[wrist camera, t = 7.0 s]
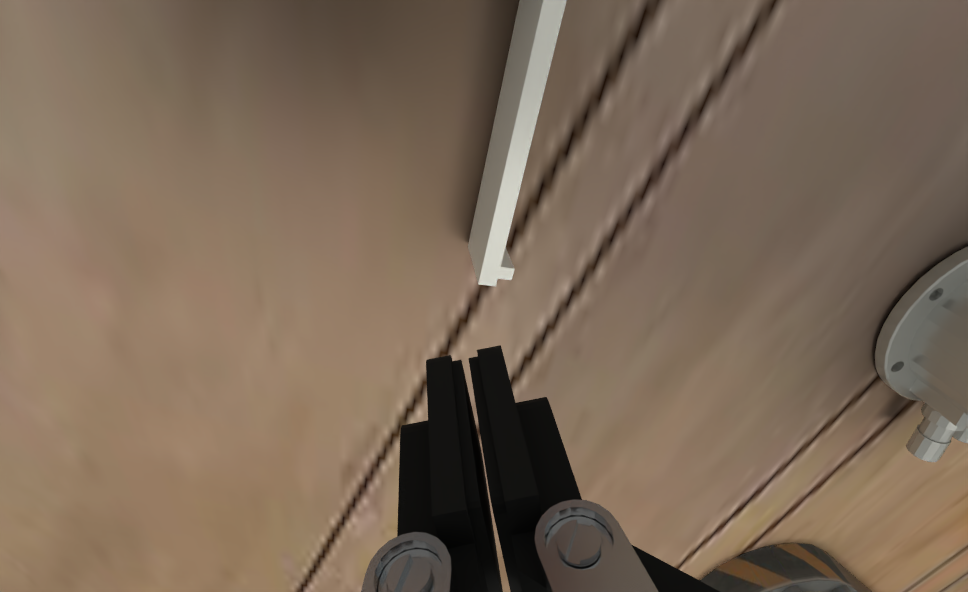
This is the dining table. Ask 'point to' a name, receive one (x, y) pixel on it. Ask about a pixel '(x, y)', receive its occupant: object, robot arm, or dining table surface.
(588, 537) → the robot arm
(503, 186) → the light grey flat bar
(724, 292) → the dining table surface
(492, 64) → the dining table surface
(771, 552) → the cage light
